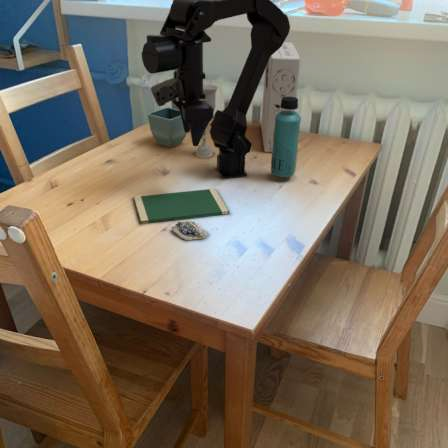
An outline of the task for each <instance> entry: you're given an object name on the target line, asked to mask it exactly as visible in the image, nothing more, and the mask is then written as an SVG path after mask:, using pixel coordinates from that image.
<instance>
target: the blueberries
mask: <svg viewBox="0 0 448 448" xmlns="http://www.w3.org/2000/svg"><path fill="white" fill-rule="evenodd" d="M201 228H202V227H201V226H199V223H197V224H196V223H195V222H194V221H192V220H191V221H190V220H186V221H177V223H175V224H174V226H171V227H170V230H172V231H173V232H174V233H175V234H176V235H177V236H178V237H179V238H181V239H184V240H185V241H193V240H194V241H195V240H205V239H206V237H207V236H208V234H207V232H205V231H204V230H202V229H201Z"/></svg>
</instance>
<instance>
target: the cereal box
mask: <svg viewBox="0 0 448 448" xmlns="http://www.w3.org/2000/svg"><path fill="white" fill-rule="evenodd" d="M300 69H301V57H300V55H299V52H298V51H297V49H296V47H295V45H294V43H293V42H292V41H291V42H290V41H289V42H288V41H284V43H283V45H282V46H281V48H279V49H278V50H277V51H276V52H275V53H274V54H273V55H271V57H270V59H269V61H268V63H267V66H266V68H265V71H264V76H263V77H264V79H263V90H262V91H263V92H262V93H263V94H262V107H261V121H260V127H261V128H260V130H261V136H262V137H261V138H262V143H263V145H262V146H263V152H265V153H273V149H272V148H273V141H274V139H273V138H274V137H273V136H274V130H275V116H276V115H277V114H278V113H279V112H281V111H284V110H288V109H283V108H281V107H280V106H281V101H282V98H283V97H295V98H297V99H298V96H297V95H298V88H299V87H298V86H299V78H300ZM291 111H295V112H296V109H294V110H291Z"/></svg>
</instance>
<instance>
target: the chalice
mask: <svg viewBox="0 0 448 448" xmlns="http://www.w3.org/2000/svg"><path fill="white" fill-rule="evenodd" d="M218 88H219V87H218V86H217V85H215V84H212V83H211V84H210V83H203V92H204V93H205V99H200V101H201V100H206V101H207V102H208V103H209V104H210V105H211V106H212V108H213V109H214V111H215V110H216V98H217V97H216V96H217V95H216V93H217V90H218ZM207 132H208V129H207V128H206V129H205V131H204V134H203V136H202V138H201V140H202V141H201V142H202V143H201V144H200V145H198V146H197V149H196V152H195V154H194V155H195V156H196V157H198V158H202V159H203V158H204V159H206V158H211V157H213V156H214V153H213V150H212V148H211V146H210V145H209V144H208V143H207V139H208V136H207Z"/></svg>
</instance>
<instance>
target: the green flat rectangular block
mask: <svg viewBox="0 0 448 448" xmlns="http://www.w3.org/2000/svg"><path fill="white" fill-rule="evenodd" d="M133 203H134V206H135V209H136V213H137V216H138V219H139V224H140V225H145V224H154V223H161V222H171V221H179V220H189V219H199V218H206V217H215V216H223V215H230V210H229V208H228V207H227V205H226V203H225V202H224V200H223V198H222V197H221V195H220V193H219V191H218V189H216V188H208V189H207V188H206V189H199V190H198V189H197V190H187V191H178V192H168V193H157V194H148V195H137V196H133Z"/></svg>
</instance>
